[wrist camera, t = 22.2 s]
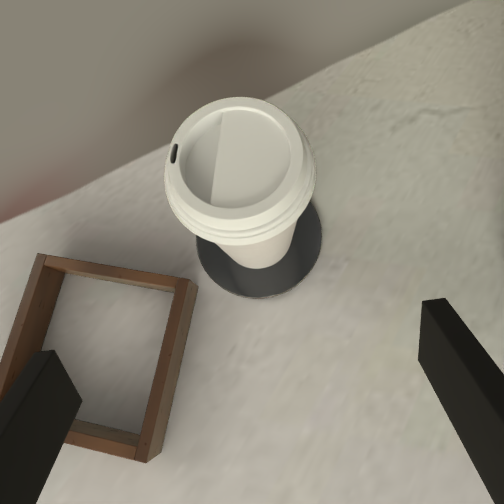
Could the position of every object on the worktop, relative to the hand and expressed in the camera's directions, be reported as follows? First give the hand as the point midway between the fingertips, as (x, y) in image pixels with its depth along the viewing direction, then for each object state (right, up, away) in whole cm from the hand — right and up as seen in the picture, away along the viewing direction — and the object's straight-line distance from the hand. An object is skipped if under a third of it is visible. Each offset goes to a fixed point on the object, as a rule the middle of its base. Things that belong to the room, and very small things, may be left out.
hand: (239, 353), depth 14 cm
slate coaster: (+1, +5, +23) cm, 24 cm away
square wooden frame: (-13, -5, +22) cm, 26 cm away
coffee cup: (+1, +5, +23) cm, 23 cm away
